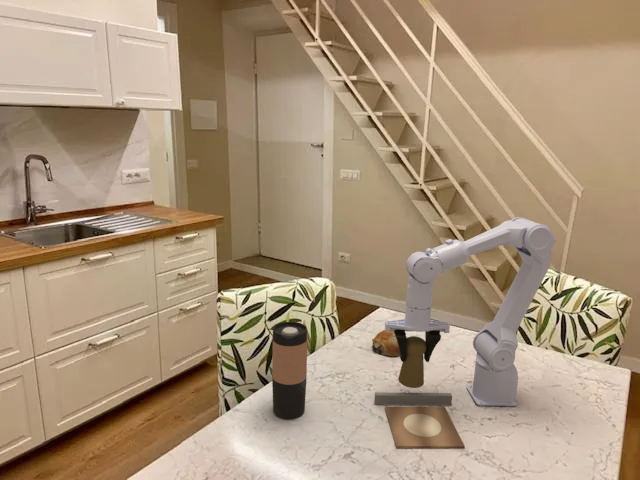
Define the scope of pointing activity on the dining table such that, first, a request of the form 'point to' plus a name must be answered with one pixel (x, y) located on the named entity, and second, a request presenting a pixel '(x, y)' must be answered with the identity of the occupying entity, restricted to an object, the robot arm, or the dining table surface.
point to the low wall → (412, 398)
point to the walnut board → (422, 427)
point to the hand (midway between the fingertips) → (414, 359)
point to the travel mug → (289, 369)
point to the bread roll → (386, 344)
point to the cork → (413, 363)
